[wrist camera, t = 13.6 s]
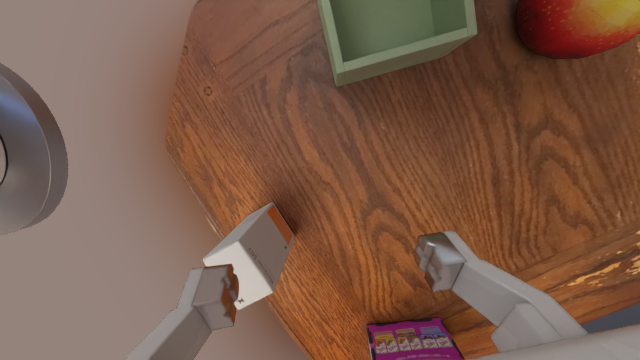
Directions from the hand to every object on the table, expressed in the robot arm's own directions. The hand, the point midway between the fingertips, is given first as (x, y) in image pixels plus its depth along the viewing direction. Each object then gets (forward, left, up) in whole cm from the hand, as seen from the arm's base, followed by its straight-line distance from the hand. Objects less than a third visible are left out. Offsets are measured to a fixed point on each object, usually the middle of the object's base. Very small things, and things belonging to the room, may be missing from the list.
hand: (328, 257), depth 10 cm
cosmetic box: (-5, -10, -21) cm, 24 cm away
